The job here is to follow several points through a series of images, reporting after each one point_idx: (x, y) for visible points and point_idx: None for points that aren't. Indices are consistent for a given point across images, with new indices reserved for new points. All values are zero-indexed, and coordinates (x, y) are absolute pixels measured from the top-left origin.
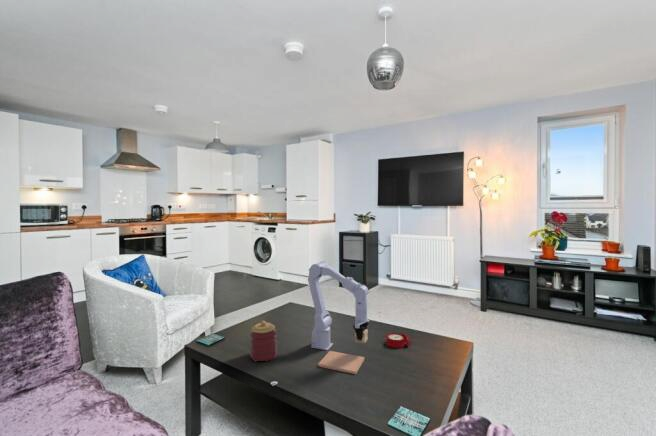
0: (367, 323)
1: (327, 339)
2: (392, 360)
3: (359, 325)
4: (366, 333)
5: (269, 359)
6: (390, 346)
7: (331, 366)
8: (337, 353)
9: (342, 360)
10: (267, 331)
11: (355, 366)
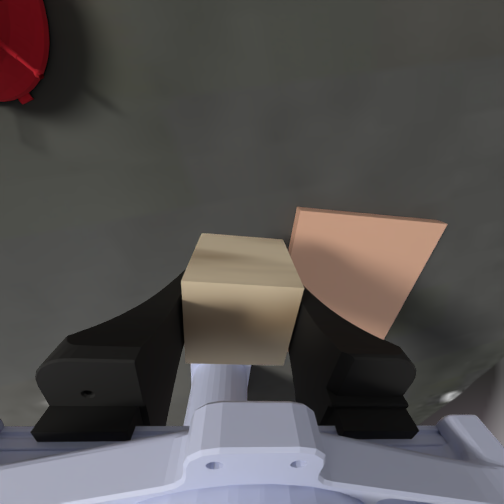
0: (146, 346)
1: (234, 394)
2: (270, 4)
3: (494, 464)
4: (236, 268)
5: None
6: (48, 45)
7: (395, 316)
8: None
9: (345, 294)
10: None
11: (400, 234)
